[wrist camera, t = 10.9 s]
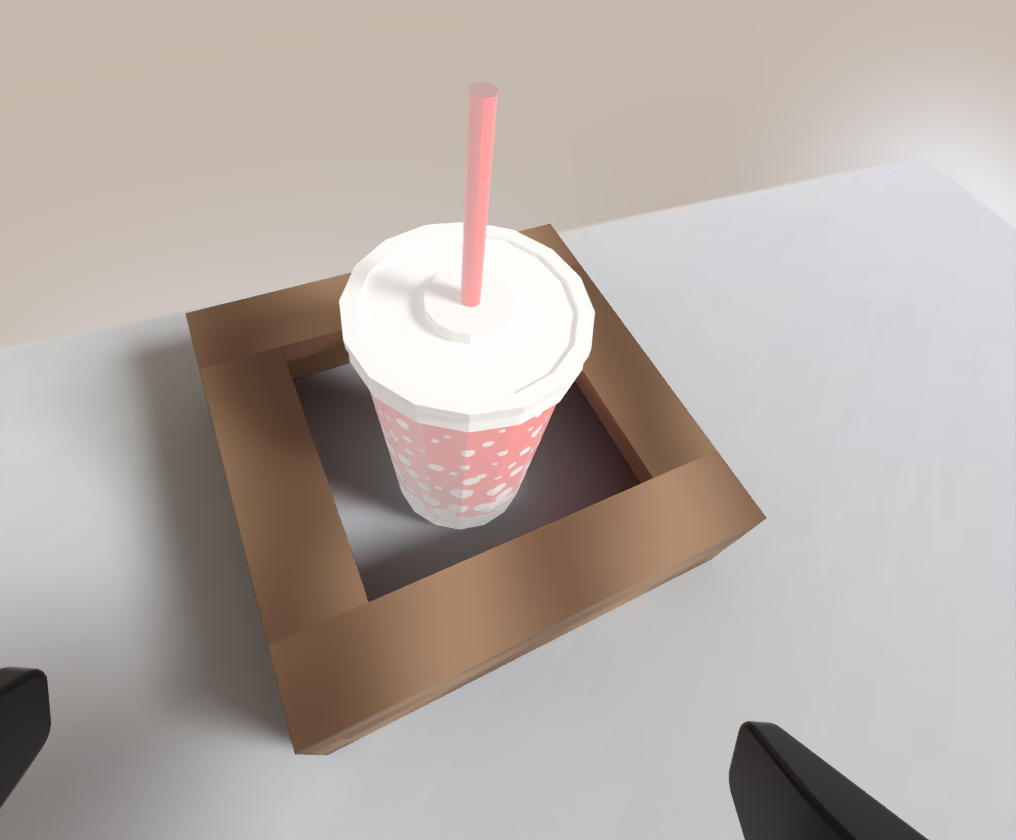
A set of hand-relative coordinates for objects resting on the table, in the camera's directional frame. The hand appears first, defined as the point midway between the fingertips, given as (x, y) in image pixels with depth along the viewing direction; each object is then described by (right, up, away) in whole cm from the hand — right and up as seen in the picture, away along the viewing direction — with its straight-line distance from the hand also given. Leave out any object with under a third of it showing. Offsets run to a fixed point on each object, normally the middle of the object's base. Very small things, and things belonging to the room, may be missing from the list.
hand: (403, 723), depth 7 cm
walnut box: (-1, +2, +14) cm, 14 cm away
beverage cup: (0, +2, +14) cm, 14 cm away
